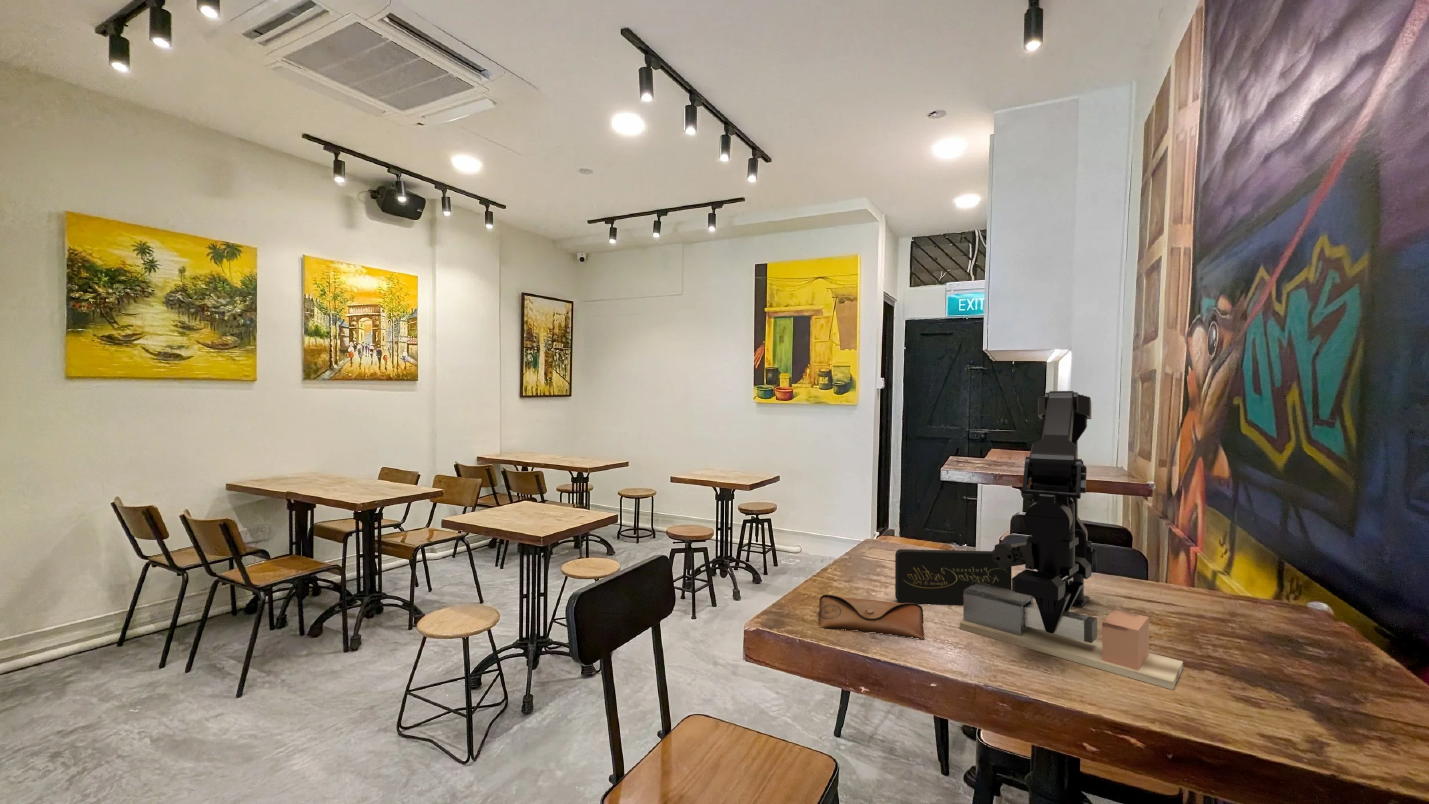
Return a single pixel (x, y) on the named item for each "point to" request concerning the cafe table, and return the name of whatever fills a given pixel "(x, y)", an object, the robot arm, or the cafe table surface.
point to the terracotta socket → (1125, 639)
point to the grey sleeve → (995, 608)
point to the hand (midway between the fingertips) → (1053, 629)
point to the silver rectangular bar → (1063, 623)
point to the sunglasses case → (871, 616)
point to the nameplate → (944, 575)
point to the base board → (1086, 654)
